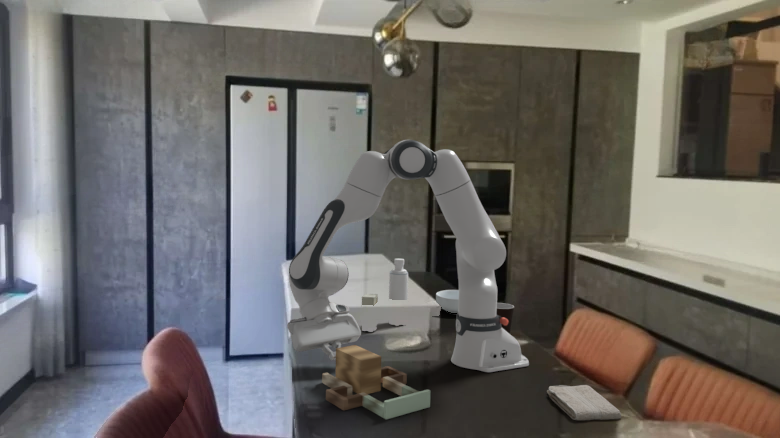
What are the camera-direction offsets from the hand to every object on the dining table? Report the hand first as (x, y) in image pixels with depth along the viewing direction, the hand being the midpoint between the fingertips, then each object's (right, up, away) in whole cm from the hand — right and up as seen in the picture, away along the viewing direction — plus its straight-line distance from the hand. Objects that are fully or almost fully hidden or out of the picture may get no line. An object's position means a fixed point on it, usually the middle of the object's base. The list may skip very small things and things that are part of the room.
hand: (336, 358), depth 170 cm
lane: (+10, -6, -13) cm, 18 cm away
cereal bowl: (+41, +1, +75) cm, 85 cm away
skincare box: (+7, -1, +46) cm, 46 cm away
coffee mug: (+52, -2, +45) cm, 69 cm away
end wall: (+19, -7, -24) cm, 31 cm away
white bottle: (+17, 0, +55) cm, 57 cm away
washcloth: (+61, -8, -18) cm, 64 cm away
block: (+6, -5, -8) cm, 11 cm away
